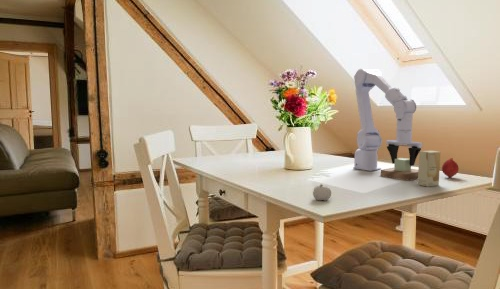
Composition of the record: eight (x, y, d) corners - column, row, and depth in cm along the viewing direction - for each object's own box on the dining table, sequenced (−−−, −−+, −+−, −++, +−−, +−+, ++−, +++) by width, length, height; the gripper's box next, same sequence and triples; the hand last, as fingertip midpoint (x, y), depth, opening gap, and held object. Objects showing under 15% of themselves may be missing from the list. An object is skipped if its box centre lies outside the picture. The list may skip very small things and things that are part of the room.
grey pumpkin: (321, 203, 116) (321, 186, 116) (308, 199, 121) (308, 183, 120) (335, 200, 120) (335, 183, 119) (322, 197, 124) (322, 180, 124)
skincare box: (427, 187, 138) (429, 152, 136) (417, 184, 141) (418, 151, 140) (439, 185, 141) (441, 151, 139) (429, 183, 144) (430, 150, 143)
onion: (441, 178, 153) (442, 158, 153) (441, 175, 159) (442, 156, 158) (458, 179, 151) (459, 158, 150) (458, 177, 156) (459, 157, 155)
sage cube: (394, 170, 158) (394, 159, 157) (400, 168, 161) (400, 158, 160) (404, 171, 154) (405, 160, 154) (410, 170, 157) (411, 159, 157)
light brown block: (380, 176, 159) (380, 169, 158) (397, 172, 166) (397, 166, 166) (408, 180, 149) (408, 174, 149) (424, 176, 157) (425, 170, 156)
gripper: (382, 129, 159) (381, 163, 160) (416, 131, 148) (414, 167, 149) (392, 129, 163) (391, 161, 165) (425, 130, 152) (424, 165, 153)
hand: (402, 164), depth 157 cm, fingers open, 7 cm apart
